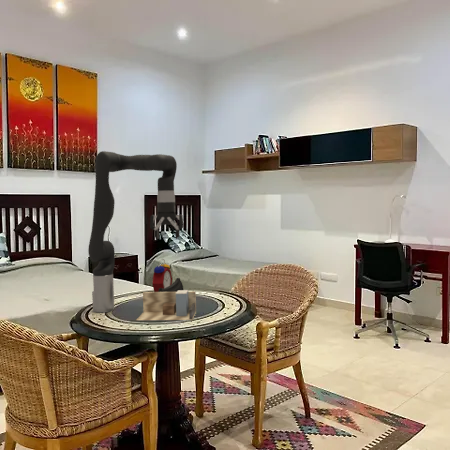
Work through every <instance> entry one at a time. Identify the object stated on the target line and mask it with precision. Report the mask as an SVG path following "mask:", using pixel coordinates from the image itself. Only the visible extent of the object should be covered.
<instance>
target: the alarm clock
mask: <svg viewBox="0 0 450 450" xmlns="http://www.w3.org/2000/svg"><path fill="white" fill-rule="evenodd" d="M161 261H163V263H162V264H161ZM150 279H151V280H152V281H151V283H152V288H153V292H158V291H159V288H163V289H164V288H166V287H169V286H170V285H171V284H173V276H172V271H171V267H170V265H169V264H168V263H166V261H165V259H164V258H161V259H160V260H159V262H158V265H156V266H155V267H154V269H153V275H152V276H150Z"/></svg>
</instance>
